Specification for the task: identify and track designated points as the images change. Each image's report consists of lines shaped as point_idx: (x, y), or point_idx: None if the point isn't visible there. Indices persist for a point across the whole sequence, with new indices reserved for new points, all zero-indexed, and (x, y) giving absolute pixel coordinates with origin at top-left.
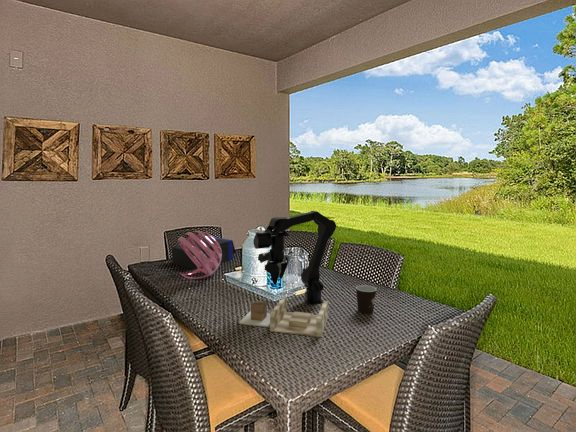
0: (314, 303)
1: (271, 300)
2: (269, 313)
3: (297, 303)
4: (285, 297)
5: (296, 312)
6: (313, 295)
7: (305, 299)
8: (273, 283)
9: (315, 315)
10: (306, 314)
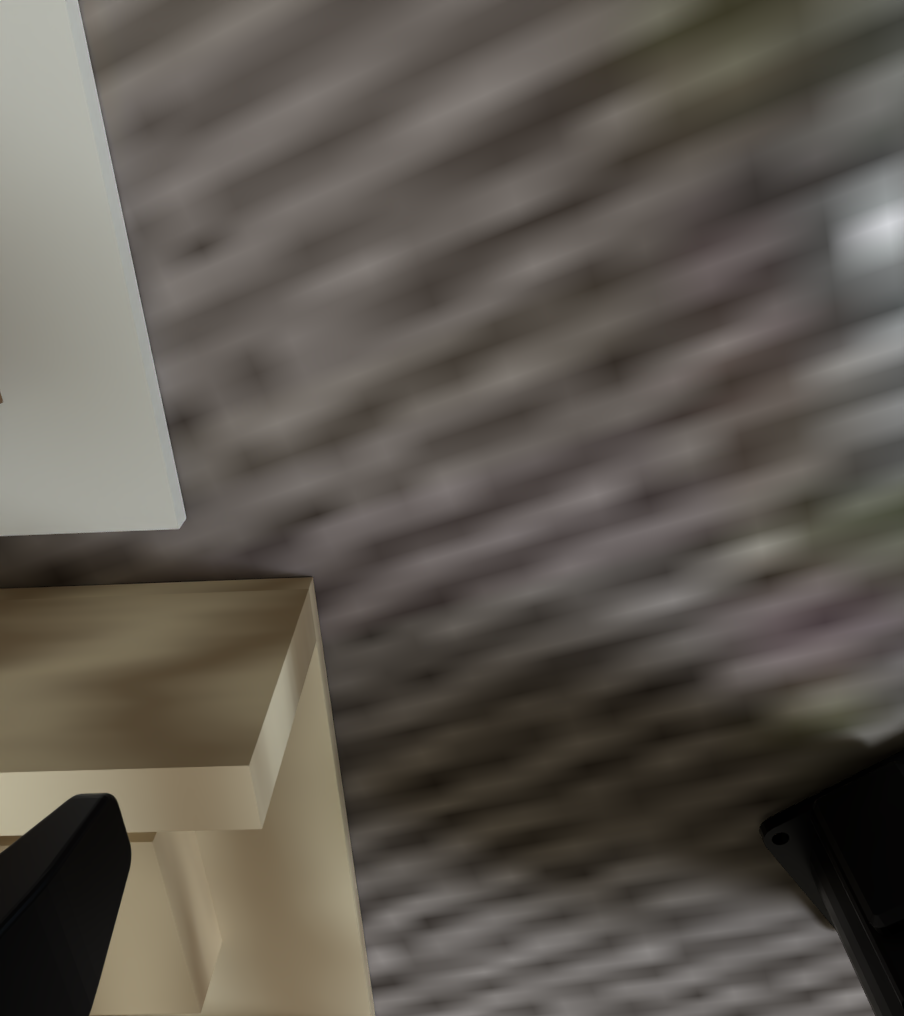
0: (790, 870)
1: (869, 160)
2: (131, 407)
3: (773, 662)
4: (243, 808)
5: (131, 869)
6: (854, 965)
7: (882, 776)
8: (43, 830)
9: (346, 957)
10: (133, 976)
